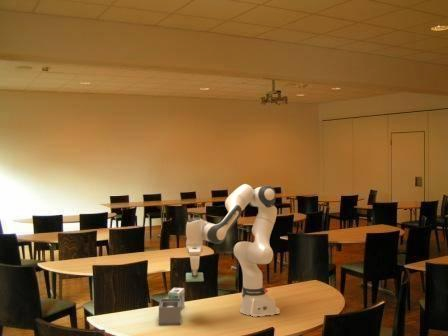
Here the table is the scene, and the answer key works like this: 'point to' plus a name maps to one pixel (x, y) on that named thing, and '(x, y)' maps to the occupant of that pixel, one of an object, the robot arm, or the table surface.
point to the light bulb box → (177, 295)
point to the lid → (194, 277)
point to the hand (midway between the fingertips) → (194, 274)
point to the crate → (169, 311)
